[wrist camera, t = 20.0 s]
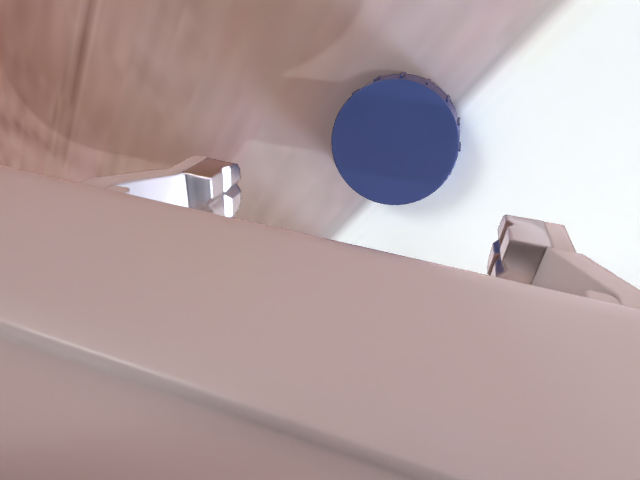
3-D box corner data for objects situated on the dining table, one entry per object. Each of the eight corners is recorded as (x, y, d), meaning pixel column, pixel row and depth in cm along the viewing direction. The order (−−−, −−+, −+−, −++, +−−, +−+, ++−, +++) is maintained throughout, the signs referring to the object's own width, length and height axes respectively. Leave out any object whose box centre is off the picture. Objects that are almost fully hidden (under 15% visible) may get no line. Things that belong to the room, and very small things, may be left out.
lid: (480, 161, 20) (482, 174, 18) (374, 209, 23) (367, 223, 21) (426, 46, 18) (422, 49, 17) (320, 113, 21) (308, 120, 19)
